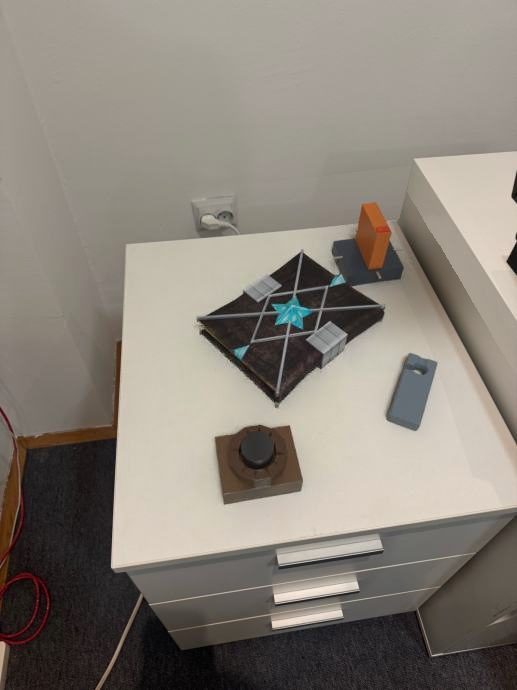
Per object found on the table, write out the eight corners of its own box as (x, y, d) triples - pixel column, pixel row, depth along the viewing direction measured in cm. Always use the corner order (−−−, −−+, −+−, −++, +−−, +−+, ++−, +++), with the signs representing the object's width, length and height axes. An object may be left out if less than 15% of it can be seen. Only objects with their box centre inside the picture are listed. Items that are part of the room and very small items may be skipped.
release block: (288, 437, 60) (290, 417, 56) (301, 491, 56) (304, 474, 52) (216, 448, 59) (213, 429, 55) (224, 504, 55) (221, 488, 51)
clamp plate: (386, 238, 83) (389, 226, 80) (411, 285, 76) (415, 272, 74) (322, 247, 81) (324, 234, 79) (342, 295, 75) (344, 283, 73)
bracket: (385, 421, 62) (389, 413, 60) (405, 359, 67) (409, 351, 66) (416, 432, 61) (420, 425, 59) (434, 369, 66) (438, 361, 65)
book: (277, 409, 63) (278, 389, 59) (196, 334, 70) (192, 311, 66) (383, 321, 71) (390, 298, 67) (300, 263, 79) (303, 239, 75)
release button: (270, 435, 55) (270, 428, 54) (276, 465, 53) (277, 458, 52) (239, 441, 55) (238, 433, 54) (244, 470, 53) (243, 464, 51)
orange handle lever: (354, 239, 79) (362, 202, 73) (367, 238, 79) (376, 200, 73) (368, 269, 74) (377, 232, 69) (382, 268, 75) (392, 230, 69)
